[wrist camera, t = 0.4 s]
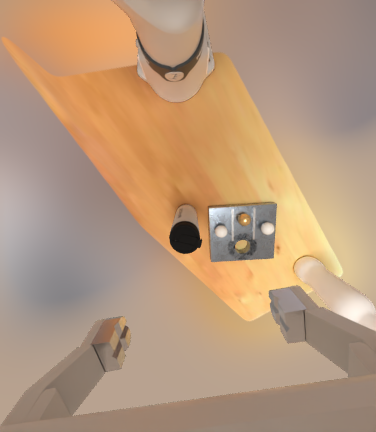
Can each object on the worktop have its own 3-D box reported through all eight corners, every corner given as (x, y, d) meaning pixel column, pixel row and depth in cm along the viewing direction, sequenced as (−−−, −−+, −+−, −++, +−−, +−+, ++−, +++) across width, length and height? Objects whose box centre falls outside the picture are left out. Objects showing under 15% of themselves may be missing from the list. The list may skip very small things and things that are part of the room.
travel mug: (195, 226, 56) (198, 258, 36) (174, 221, 55) (165, 251, 36) (199, 206, 54) (205, 229, 35) (178, 202, 54) (171, 222, 34)
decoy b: (214, 224, 53) (215, 228, 49) (226, 223, 53) (228, 227, 49) (214, 235, 54) (216, 239, 50) (226, 234, 54) (228, 239, 50)
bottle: (300, 251, 57) (413, 338, 29) (322, 260, 58) (453, 353, 29) (287, 272, 60) (379, 372, 31) (308, 280, 60) (418, 386, 31)
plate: (208, 206, 54) (209, 209, 51) (272, 202, 53) (278, 204, 50) (210, 257, 58) (211, 263, 55) (269, 254, 58) (274, 259, 55)
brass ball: (236, 212, 52) (239, 215, 48) (248, 211, 52) (252, 214, 48) (236, 224, 53) (239, 228, 49) (248, 223, 53) (252, 227, 49)
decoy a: (259, 221, 52) (263, 224, 49) (271, 220, 52) (277, 224, 49) (258, 232, 53) (263, 237, 50) (270, 231, 53) (276, 236, 50)
